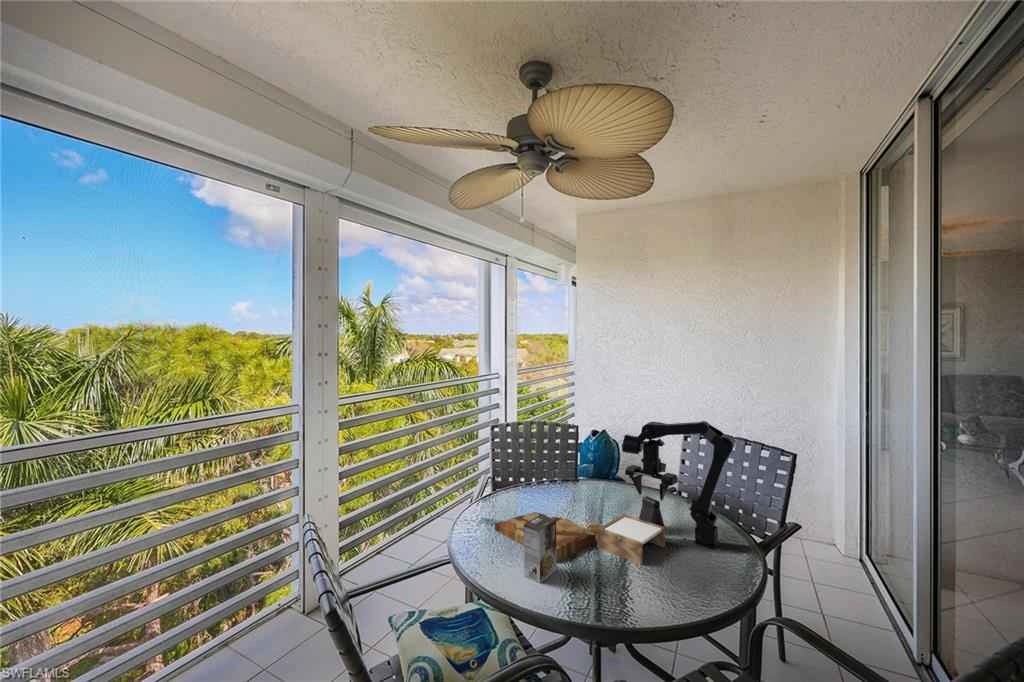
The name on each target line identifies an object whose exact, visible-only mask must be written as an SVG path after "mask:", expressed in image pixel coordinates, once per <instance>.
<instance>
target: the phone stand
mask: <svg viewBox="0 0 1024 682" xmlns="http://www.w3.org/2000/svg"><path fill="white" fill-rule="evenodd" d="M641 502H642V504H641V508H640V513H639V517H638V519H640V520H643V521H646V522H649V523H653V524H656V525H659V526H662V527H665V532H666V526H665V522H664V519H663V515H662V511H661V509H660V508H661V507H660V506H661V504H660V503H661V502H660V501H659V500H657V499H655V498H652V497H650V496H647V495H644V496H643V497H642V500H641Z"/></svg>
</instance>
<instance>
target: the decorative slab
mask: <svg viewBox="0 0 1024 682" xmlns="http://www.w3.org/2000/svg"><path fill="white" fill-rule="evenodd" d="M539 515H543V516H546V517H549V518H551V519H554V520H556V557H557V562H560V561H562V560H564V559H566V558H568V557H570V556H572V555H575V554H577V553H579V552H580V551H583V550H585V549H587V548H590V547H592V546H594V545H596V544H597V543H596V542H597V538H596V536H597V534H595V533H594V532H593V531H592V530H591V529H589V528H586V527H582V526H580V525H578V524H577V523H575V522H573V520H571V519H569V518H562V517H556V516H548V515H546V514H544V513H541V512H537V511H534V512H530V513H527V514H523V515H518V516H515V517H512V518H509V519H507V520H504V521H498V522H495V523H494V531H496V532H498V533H499V532H500V534H501V533H502V536H505V537H506V538H508V537H509V538H508V539H509V540H512V541H514V542H516V543H517V544H519V545H520V546H523V547H524V524H525V523H527V522H529V521H530V520H532V519H534V518H536V517H537V516H539Z"/></svg>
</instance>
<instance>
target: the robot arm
mask: <svg viewBox="0 0 1024 682" xmlns="http://www.w3.org/2000/svg"><path fill="white" fill-rule="evenodd" d="M640 430H641V432H640V434H638V435H637V436H636V435H630V434H624V436H623V437H624V438H623V440H622V441H623V442H622V444H621V450H622V452H623V453H626V454H632V455H639V454H640V453H642V458H641V459H640V461H641V462H642V467H641V466H638V465H635V464H632V465H629V466H627V467H626V468H625V469H624V470H625V472H624V473H625V476H628V478H629V479H630V480H631V481H632V483H633V485H634V486H635V489H636V491H637V493H638V496H639V495H640V496H641V495H642V494H643V493H642V491H643V489H642V479H643V476H645V477H648V478H652V479H657V480H660V482H661V483H659V499H660V501H661V502H662V501H663V500H664V498H665V496H666V493H667V490H668V488H669V487H670V486H675V484H677V483H679V478H678V475H677V474H675V473H671V472H666V470H667V469H666V468H667V463H664V462H662V461H661V460H662V459H661V458H660V447H663V446H664V445H665V442H664V440H662V437H666V436H679V435H695V434H697V435H698V434H700V435H702V436H703V437H704V438H705V439H706V440H707V441H708V442H709V443H710V444H711V445H712V446H713V453H712V461H711V463H710V467H709V469H708V472H707V475H706V478H705V481H704V484H703V487H702V490H701V493H700V495H698V494H697V493H696V494H695V495H694V497H693V498H692V501H691V505H690V507H689V508H688V510H689V511H690V517H691V519H692V520H693V521H694V522H695V525H696V526H695V527H694V539H695V540H694V541H693V543H694V544H697V545H699V546H703V547H706V548H709V549H714V548H716V547H717V546H718V545H719V544H720V541H719V540H718V537H719V534H718V533H719V532H718V531H719V530H718V529H719V528H718V526H717V525H716V524H717V521H718V516H717V515H716V514H715V513H714V512H713V511H712V507H713V498H714V497H713V496H714V494H715V491H716V488H717V485H718V482H719V479H720V478H721V477H720V476H721V474H722V472H723V468H724V466H725V462H726V461H727V459H729V456H730V454H731V453H732V451H733V449H735V446H736V441H735V439H734V437H733V436H732V435H730V434H727V433H724V432H723V431H721V430H720V429H718V428H716V427H715V426H713V425H711V424H710V423H709V422H708V421H706V420H705V421H704V420H701V421H695V422H679V423H678V422H677V423H665V422H659V421H649V422H647V423H646V424H644V425H642V428H641V429H640ZM665 472H666V473H665ZM661 473H664V474H661Z"/></svg>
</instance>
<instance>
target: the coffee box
mask: <svg viewBox="0 0 1024 682" xmlns="http://www.w3.org/2000/svg"><path fill="white" fill-rule="evenodd" d="M546 516H547V515H546ZM546 516H543V515H539V516H537V517H536V518H534V519H532V520H530V521H529V522H527V523H525V524H524V546H523V577H524V578H527V579H530V580H533V581H534V582H536V583H539V584H542V582H544V581H546V579H548V578H549V577H550V576H551V575H553V574H554V573H556V572H557V571H558V569H557V557H556V520H554V519H551V518H549V517H550V516H549V517H546Z"/></svg>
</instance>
